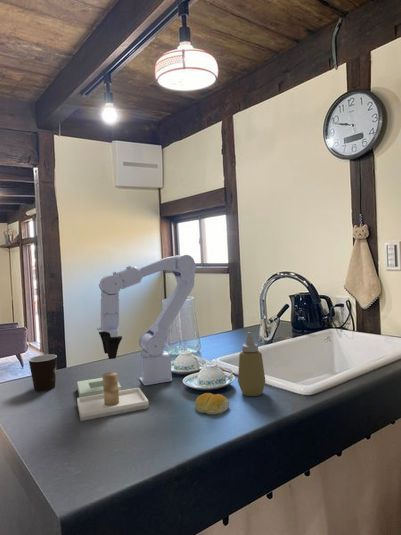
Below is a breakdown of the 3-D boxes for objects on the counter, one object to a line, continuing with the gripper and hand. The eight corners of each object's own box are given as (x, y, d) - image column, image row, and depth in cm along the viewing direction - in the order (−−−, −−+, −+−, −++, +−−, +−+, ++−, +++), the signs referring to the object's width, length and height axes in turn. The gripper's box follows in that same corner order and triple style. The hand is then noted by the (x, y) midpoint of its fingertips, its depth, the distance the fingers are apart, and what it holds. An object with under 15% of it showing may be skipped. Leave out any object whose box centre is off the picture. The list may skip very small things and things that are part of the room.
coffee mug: (49, 393, 122) (47, 361, 122) (24, 392, 124) (22, 361, 124) (68, 380, 134) (66, 352, 133) (46, 380, 135) (44, 352, 135)
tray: (139, 393, 118) (139, 387, 118) (148, 407, 107) (148, 400, 107) (77, 404, 111) (77, 398, 111) (80, 421, 100) (80, 413, 100)
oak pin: (118, 399, 111) (116, 371, 111) (120, 403, 108) (118, 375, 107) (103, 401, 110) (101, 373, 110) (105, 406, 106) (103, 377, 106)
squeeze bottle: (271, 392, 114) (269, 331, 113) (255, 400, 108) (252, 336, 108) (249, 386, 120) (246, 328, 119) (232, 394, 114) (230, 333, 113)
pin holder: (115, 383, 129) (114, 375, 129) (121, 394, 118) (121, 386, 118) (77, 389, 125) (77, 381, 125) (80, 401, 114) (80, 393, 113)
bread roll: (205, 401, 110) (204, 387, 110) (233, 406, 106) (232, 392, 105) (188, 411, 103) (187, 396, 103) (217, 418, 99) (217, 402, 98)
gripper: (93, 311, 129) (93, 351, 129) (100, 316, 115) (100, 362, 116) (115, 310, 131) (115, 350, 132) (124, 315, 118) (124, 360, 118)
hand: (110, 355), depth 124 cm, fingers open, 7 cm apart
